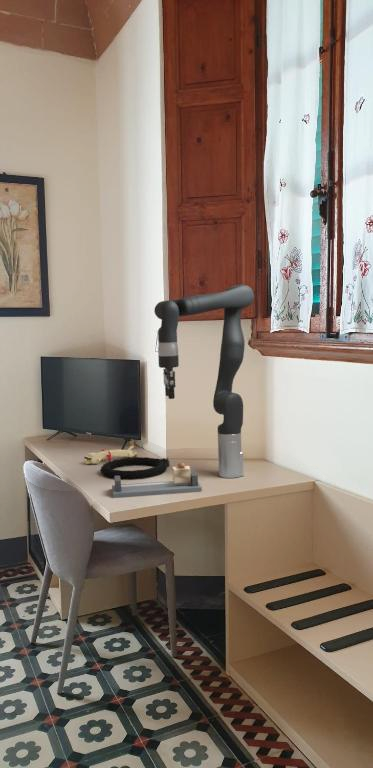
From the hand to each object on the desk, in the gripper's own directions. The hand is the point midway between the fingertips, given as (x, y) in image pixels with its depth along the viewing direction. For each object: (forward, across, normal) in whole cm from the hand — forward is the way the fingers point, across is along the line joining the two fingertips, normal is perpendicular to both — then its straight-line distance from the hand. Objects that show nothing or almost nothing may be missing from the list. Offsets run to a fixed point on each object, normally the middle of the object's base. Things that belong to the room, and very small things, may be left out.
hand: (170, 397), depth 245 cm
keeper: (+30, -8, -2) cm, 32 cm away
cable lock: (+34, +24, +12) cm, 43 cm away
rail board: (+33, -8, +8) cm, 35 cm away
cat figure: (+34, +47, +22) cm, 62 cm away
